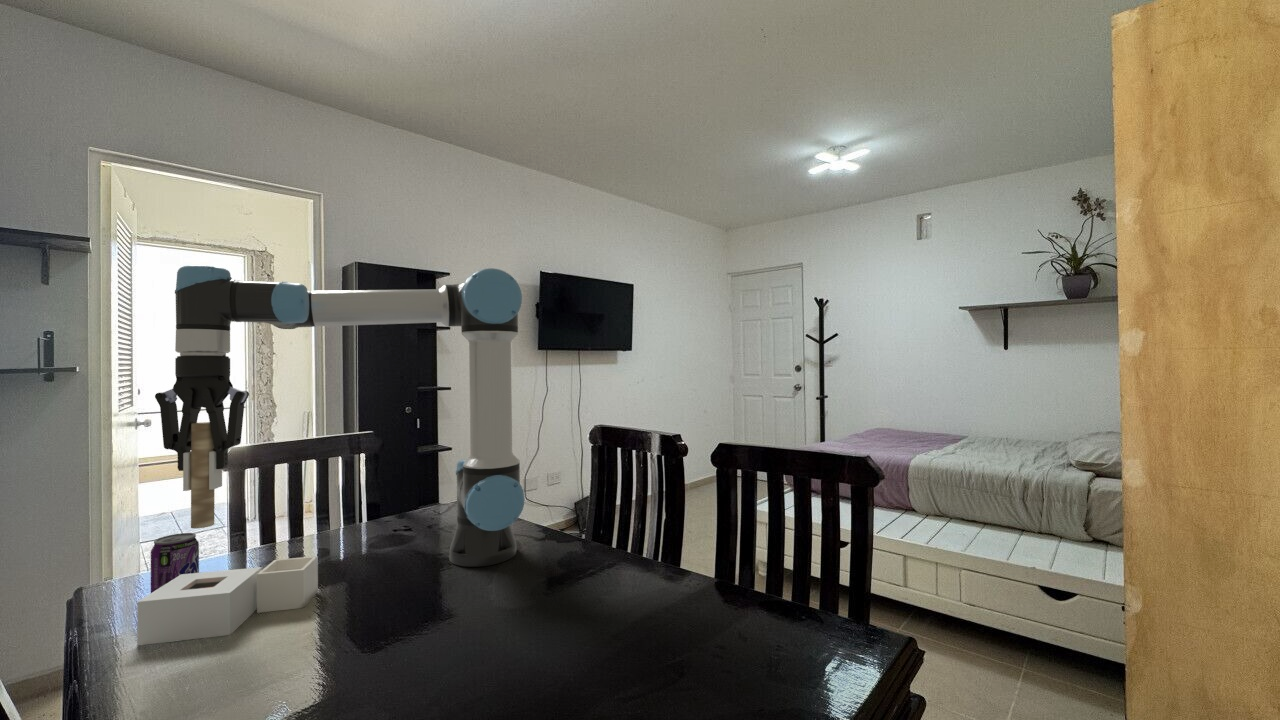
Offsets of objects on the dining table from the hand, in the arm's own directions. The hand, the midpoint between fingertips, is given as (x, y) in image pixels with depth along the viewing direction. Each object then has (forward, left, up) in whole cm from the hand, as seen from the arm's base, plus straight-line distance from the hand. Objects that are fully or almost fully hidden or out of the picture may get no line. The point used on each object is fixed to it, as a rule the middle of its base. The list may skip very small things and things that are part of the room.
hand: (203, 488), depth 95 cm
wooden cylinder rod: (0, 0, -7) cm, 7 cm away
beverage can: (+11, -13, -24) cm, 29 cm away
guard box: (0, 0, -24) cm, 24 cm away
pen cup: (-11, -6, -24) cm, 27 cm away
